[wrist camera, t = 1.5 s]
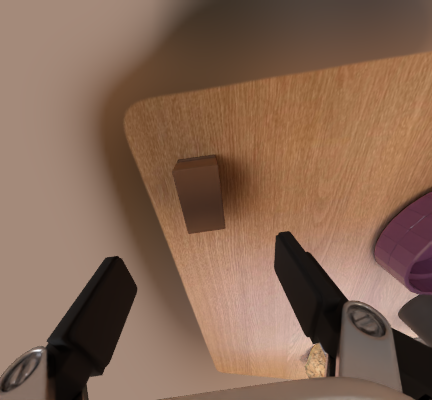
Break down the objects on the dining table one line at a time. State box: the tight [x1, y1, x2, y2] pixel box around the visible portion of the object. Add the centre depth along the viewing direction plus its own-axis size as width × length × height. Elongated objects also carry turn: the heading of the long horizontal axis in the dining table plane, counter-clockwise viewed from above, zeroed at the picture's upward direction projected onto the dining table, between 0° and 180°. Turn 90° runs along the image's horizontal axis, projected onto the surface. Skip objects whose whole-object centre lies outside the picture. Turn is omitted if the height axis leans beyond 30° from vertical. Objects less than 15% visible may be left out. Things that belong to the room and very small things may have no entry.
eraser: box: [172, 155, 225, 234], centre depth 17 cm, size 7×4×4 cm, turn 7°
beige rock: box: [305, 344, 326, 378], centre depth 43 cm, size 18×14×8 cm
